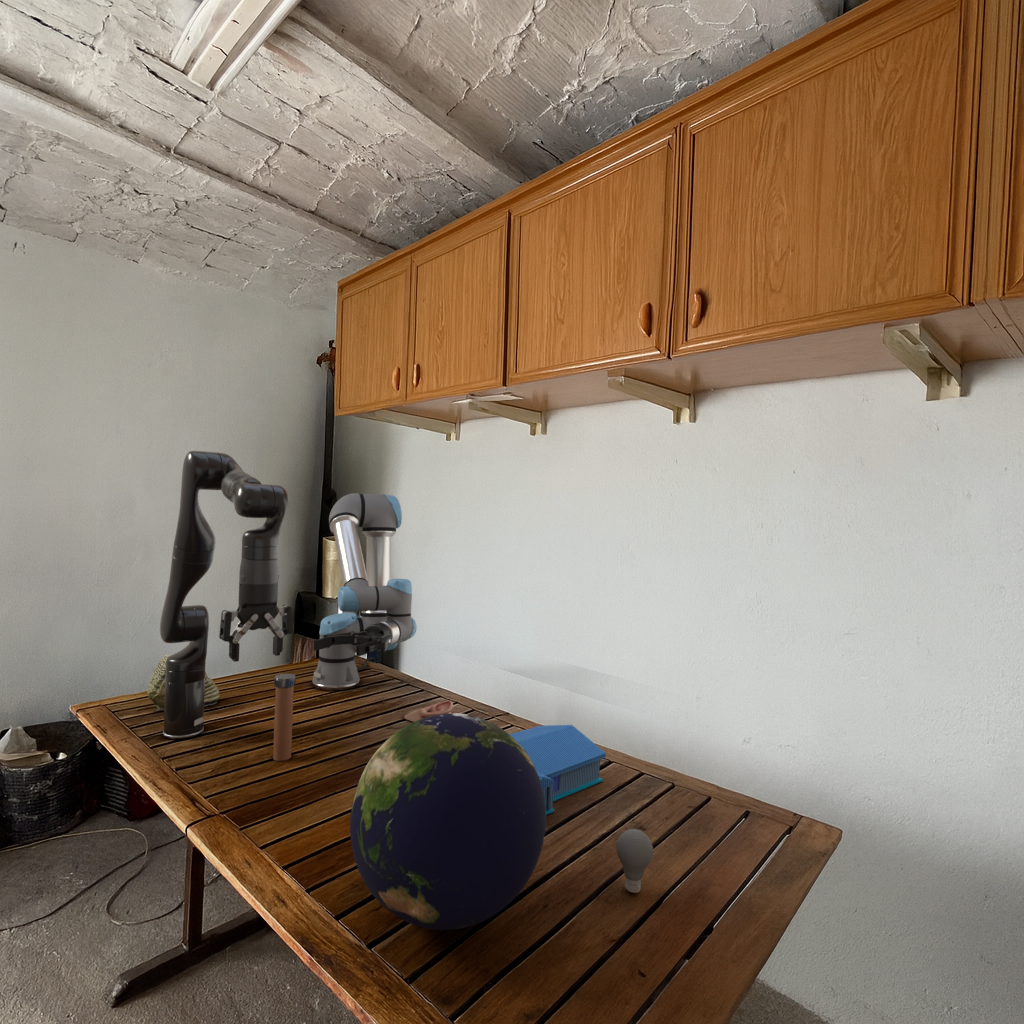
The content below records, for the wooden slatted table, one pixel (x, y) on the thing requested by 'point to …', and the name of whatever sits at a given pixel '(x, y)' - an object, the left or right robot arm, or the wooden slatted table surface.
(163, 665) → the fossil
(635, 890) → the light bulb
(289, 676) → the lid
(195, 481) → the left robot arm
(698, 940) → the wooden slatted table surface
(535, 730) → the model building
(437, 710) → the anatomical model
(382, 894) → the globe
